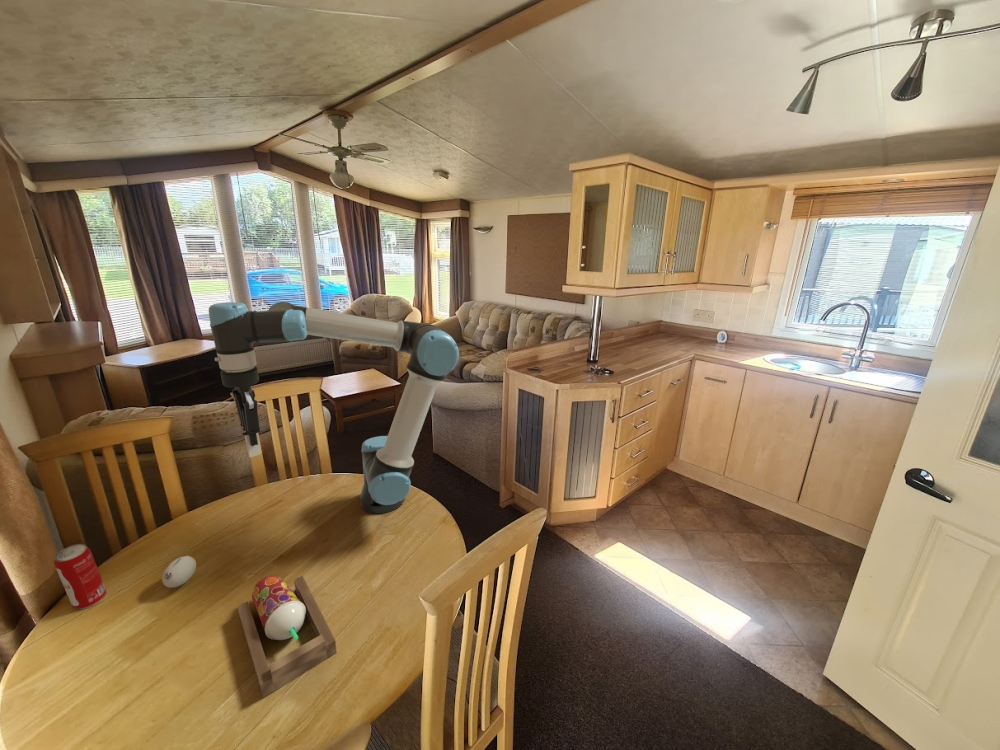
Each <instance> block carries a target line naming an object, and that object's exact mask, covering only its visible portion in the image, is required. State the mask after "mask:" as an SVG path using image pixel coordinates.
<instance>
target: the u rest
mask: <svg viewBox="0 0 1000 750" xmlns="http://www.w3.org/2000/svg"><path fill="white" fill-rule="evenodd" d="M293 581H294V588H295V592H296V594H297V598H298V599H299V600H300V601H301V602H302V603H303V604H304V606H305V608H306V614H305V615H306V616H307V619H308V620H309V623H310V625H311V627H312V629H313V631H314V633H315V637H314V638H313V639H311V640H309V641H307V642H305V643H303V644H302V645H301V646H299V647H297V648H295V649H294V650H292V651H290V652H289V653H287V654H285V655H284V656H281V657H280V658H277V659H276V660H274V661H273V662H271V663H270V664H269V663H268V661H267V658H266V655H265V652H264V649H263V645H262V642H261V639H260V635H259V633H258V630H257V627H256V624H255V620H254V617H253V615H252V611H251V608H250V605H249V601H246V602H244V603H241V604H239V605H237V610H238V616H239V619H240V622H241V627H242V630H243V633H244V637H245V641H246V644H247V648H248V650H249V651H248V652H249V655H250V658H251V662H252V665H253V669H254V672H255V675H256V679H257V681H258V686H259V689H260V693H261V696H262V699H265V698H266V697H268V696H269V695H271V694H273V693H274V692H276V691H277V690H279V689H281V688H282V687H284V686H286V685H287V684H289V683H290V682H292V681H294V680H295V679H297V678H298V677H300V676H302V675H304V674H305V673H306V672H308V671H310V670H311V669H312V668H315V667H316V666H318V665H319V664H321V663H322V662H325V660H327V659H329V658H330V657H332V656H334V655H336V654H337V652H338V651H337V643H336V638H335V637H334V635H333V633H332V631H331V630H330V628H329V625H328V623H327V621H326V619H325V618H324V615H323V613H322V611H321V609H320V607H319V605H318V603H317V601H316V600H315V598H314V596H313V593H312V592H311V589H310V588H309V586H308V584H307V582H306V580H305V578H304V576H303V575H302V576H299V577H297V578H295V579H294V580H293Z"/></svg>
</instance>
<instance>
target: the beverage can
mask: <svg viewBox="0 0 1000 750" xmlns="http://www.w3.org/2000/svg"><path fill="white" fill-rule="evenodd" d="M96 563H97V562H96V561H95V558H94V555H93V553H92V551H91V549H90V547H89V546H87V545H86V543H85V544H84V543H77V544H73V545H70V546H67V547H65V548H63V549H62V550H61V549H60V551H58V552H57V553H56V554H55V555H54V562H53V564H54V567H55V570H56V572H57V573H58V574H57V575H58V577H59V579H60V581H61V583H62V585H63V588H64V589H65V590H64V591H65V592H66V594H67V597H68V599H69V602H70V603H71V607H72V608H73V609H75V610H84V609H89V608H90V607H93V606H95V605H96V604H99V602H101V601H102V600H103V598H104V597H105V596H106V595H107V589H106V586H105V584H104V581H103V578H102V576H101V574H100V570H99V569H98V566H97V564H96Z"/></svg>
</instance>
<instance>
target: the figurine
mask: <svg viewBox="0 0 1000 750" xmlns="http://www.w3.org/2000/svg"><path fill="white" fill-rule="evenodd" d="M196 569H197V562H196V560H195V558H194V557H193V556H189V555H188V554H186V555H185V556H180V557H178V558H176V559H174V560H173V561H172V562H171V563H169V564H168V565H167V567H165V568H164V571H163V572H162V576H161V581H162V584H163V586H165V587H167V588H177V587H181V586H182V585H184V584H185V583H187V582H188V581H189V580H190V579H191V578H192V576H193V575H194V573H195V572H196Z"/></svg>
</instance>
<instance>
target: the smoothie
mask: <svg viewBox="0 0 1000 750" xmlns="http://www.w3.org/2000/svg"><path fill="white" fill-rule="evenodd" d="M251 598H252V602H253V604H254V606H255V609H256V612H257V614H258V617H259V619H260V622H261V626H262V628H263V630H264V633H265V636H266V637H267V638H268V639H271V640H273V641H275V640H277V641H285V640H287V639H291V638H294V640H295V641H298V639H299V635H298V634H297V633H298V632H299V631H300V630H301V628H302V627H303V625H304V622H305V617H306V615H307V614H306V608H305V606H304V604H303V603H302V602H301V601H300V599H299V597H298V596H296V594H295V592H293V590H292V589H291V588H290V586H289V585H287V583H286V582H285V581H284V580H283V579H282V577H281V576H278V575H267V576H265V577H262V578H261V579H260V580H259V581H258V582H257V583H256V584H255V585H254V587H253V592H252V594H251Z"/></svg>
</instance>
